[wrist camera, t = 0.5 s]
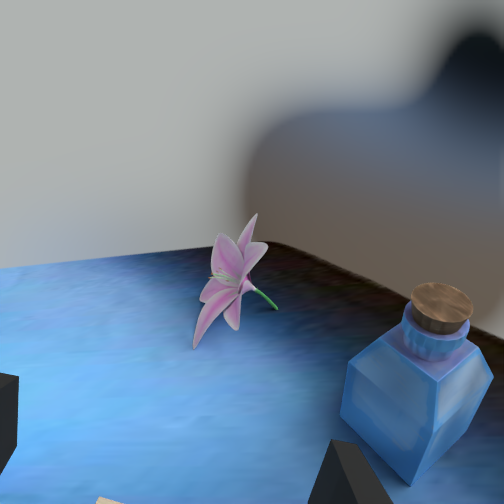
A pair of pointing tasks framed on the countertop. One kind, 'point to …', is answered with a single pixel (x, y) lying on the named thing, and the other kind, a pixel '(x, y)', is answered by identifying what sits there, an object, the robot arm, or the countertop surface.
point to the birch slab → (106, 501)
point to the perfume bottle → (417, 383)
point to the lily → (229, 279)
